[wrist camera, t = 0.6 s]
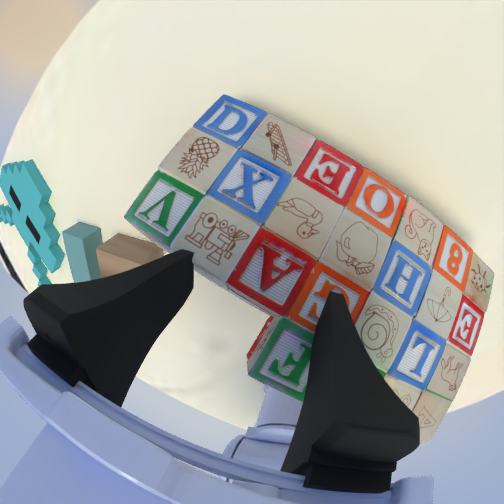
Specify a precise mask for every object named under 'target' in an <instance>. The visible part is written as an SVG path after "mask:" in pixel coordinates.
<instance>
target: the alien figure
mask: <svg viewBox="0 0 504 504" xmlns="http://www.w3.org/2000/svg"><path fill="white" fill-rule="evenodd" d="M0 187H1V189H2V191H3V193H4V195H5V197H6V199H7V201H8V203H9V205H10V207H11V208H10V207H9V205H7V206H5V207H4V205H3V204H2V205H0V222H2V221H4V223H5V224H6V223H8V222H9V224H10V226H12V225H14V224H15V226H16V228H17V230H18V231H19V233H20V235H21V237H22V238H23V240H24V242H25V243H26V245H27V246H28V248H29V249H28V254H27V255H28V257H29V258H30V260H31V261H32V263H33V264H34V266H33V272H34V273H35V275H36V276H37V278H38V279H39V283H38V286H40V285H42V284H52V283H51V282H50V280H49V279H48V277H47V276H46V274H47V270H48V269H49V270H50V272H51V273H53V272H55V271H56V270H57V269H59V268H60V265H61V263H62V260H63V258H64V256H65V253H64V252H63V251H62V249H61V248H60V246H59V245H58V243H57V242H58V239H59V236H60V234H59V232H58V231H57V229H56V228H55V226H54V225H53V220H54V217H55V214H56V213H55V212H54V210H53V209H52V207H51V206H50V204H49V203H48V201H49V198H50V195H51V193H52V191H51V190H50V188H49V187H48V185H47V183H46V182H45V180H44V178H43V177H42V175H41V173H40V172H39V170H38V168H37V166H36V165H35V163H34V161H33V159H32V160H29V161H27V162H25V161H21V162H19V163H17V162H14V163H12V164H11V163H8V164H6V165H3V166H2V169H1V175H0ZM41 259H42V260H43V262H44V263H45V265H46V266H47V268H48V269H47V268H46V267H45V265H44V264H43V262H42V261H41Z"/></svg>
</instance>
